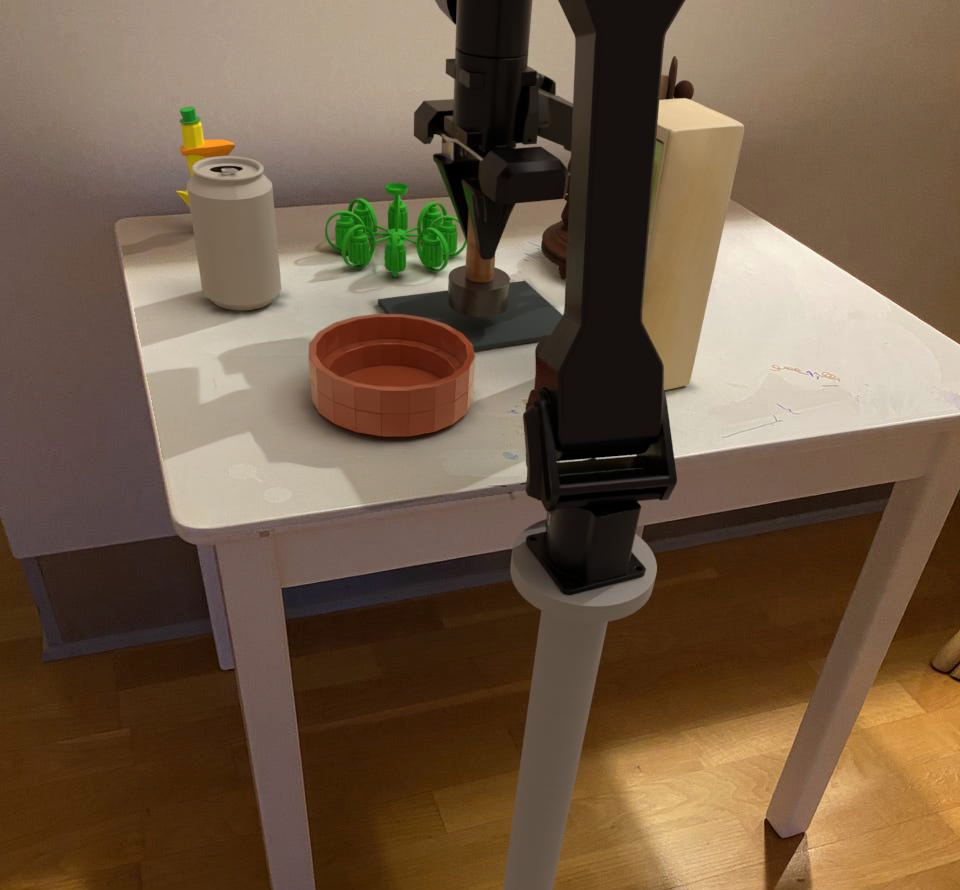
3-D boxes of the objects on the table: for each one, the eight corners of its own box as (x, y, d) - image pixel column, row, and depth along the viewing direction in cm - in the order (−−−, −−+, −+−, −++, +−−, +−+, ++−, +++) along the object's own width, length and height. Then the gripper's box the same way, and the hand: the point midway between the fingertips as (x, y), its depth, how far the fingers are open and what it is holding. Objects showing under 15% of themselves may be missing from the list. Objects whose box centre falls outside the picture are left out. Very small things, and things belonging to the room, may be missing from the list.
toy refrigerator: (573, 359, 85) (608, 101, 71) (641, 347, 88) (688, 96, 74) (619, 400, 80) (666, 131, 66) (689, 386, 83) (750, 125, 68)
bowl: (496, 426, 76) (501, 375, 73) (340, 454, 72) (337, 401, 69) (436, 353, 85) (437, 305, 82) (293, 375, 80) (289, 324, 77)
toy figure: (239, 220, 105) (225, 100, 97) (247, 232, 103) (234, 110, 95) (178, 227, 103) (158, 104, 94) (185, 238, 100) (166, 114, 92)
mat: (579, 335, 89) (580, 330, 89) (422, 359, 84) (422, 354, 83) (524, 285, 97) (525, 280, 96) (377, 303, 91) (377, 298, 91)
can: (273, 278, 94) (261, 149, 86) (290, 309, 89) (279, 175, 81) (197, 285, 92) (177, 153, 84) (210, 318, 87) (190, 181, 79)
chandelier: (331, 225, 105) (328, 159, 101) (464, 231, 106) (467, 166, 102) (320, 280, 95) (316, 209, 90) (468, 286, 96) (471, 216, 91)
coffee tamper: (517, 313, 86) (527, 205, 79) (461, 320, 84) (466, 211, 78) (493, 287, 90) (501, 182, 83) (438, 294, 88) (442, 187, 81)
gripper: (642, 76, 69) (610, 283, 80) (531, 22, 82) (516, 208, 92) (506, 82, 66) (491, 299, 76) (412, 25, 78) (410, 219, 89)
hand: (480, 252), depth 84 cm, fingers closed on coffee tamper, 2 cm apart
